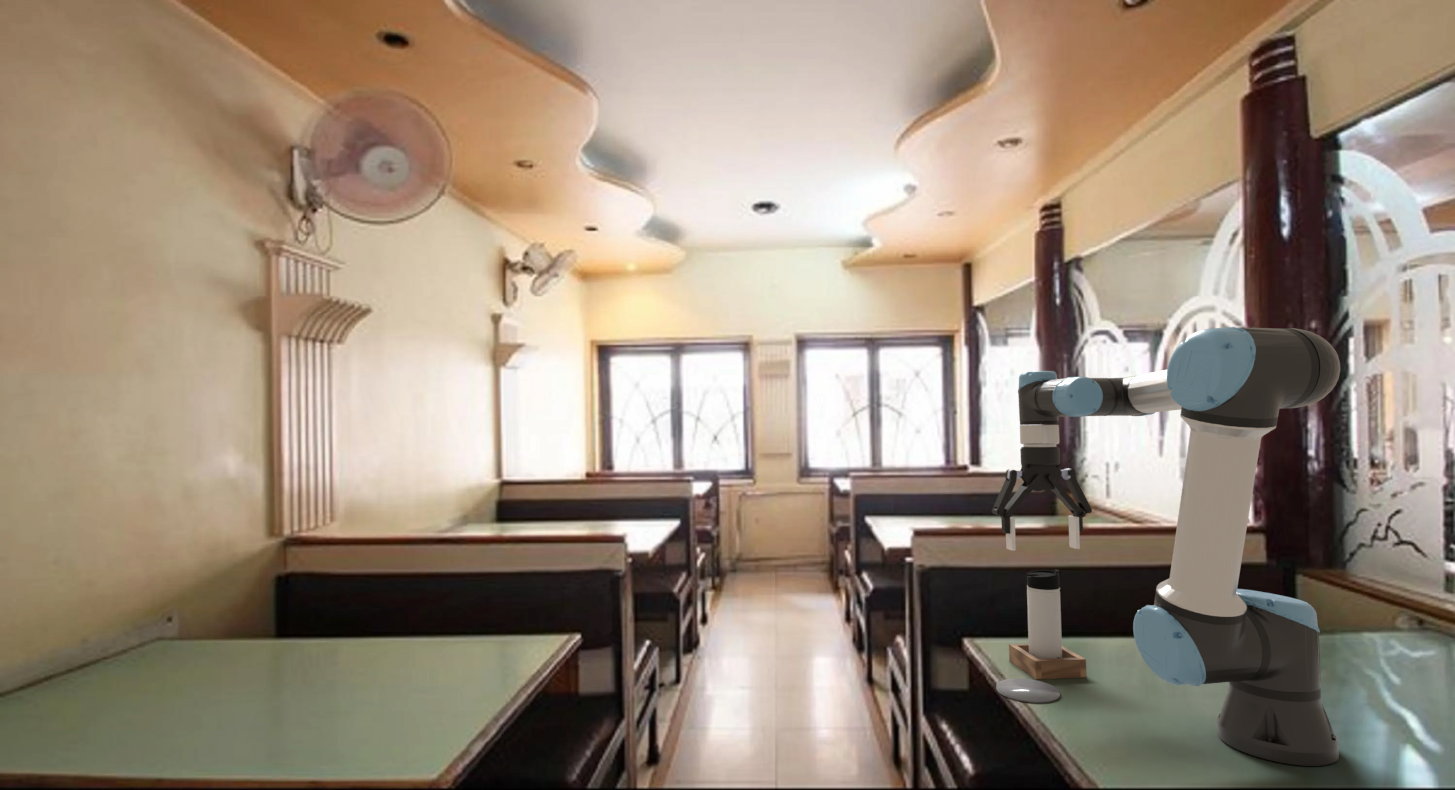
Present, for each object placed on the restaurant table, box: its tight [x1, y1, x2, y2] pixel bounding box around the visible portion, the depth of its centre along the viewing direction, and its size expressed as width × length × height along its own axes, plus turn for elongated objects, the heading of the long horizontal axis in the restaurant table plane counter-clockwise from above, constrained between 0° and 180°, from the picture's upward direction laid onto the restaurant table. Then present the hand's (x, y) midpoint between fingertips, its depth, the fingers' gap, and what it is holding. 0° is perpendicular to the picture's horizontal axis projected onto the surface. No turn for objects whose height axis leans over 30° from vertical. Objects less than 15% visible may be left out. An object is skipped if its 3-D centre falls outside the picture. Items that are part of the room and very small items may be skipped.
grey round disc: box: [995, 678, 1061, 704], centre depth 139 cm, size 11×11×1 cm
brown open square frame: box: [1008, 643, 1088, 680], centre depth 151 cm, size 11×10×4 cm
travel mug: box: [1026, 569, 1063, 659], centre depth 152 cm, size 6×7×20 cm
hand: (1042, 549), depth 152 cm, fingers open, 13 cm apart
